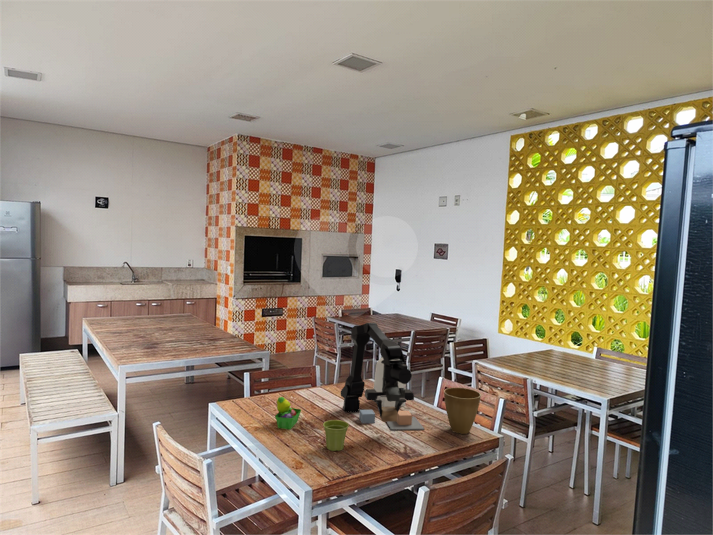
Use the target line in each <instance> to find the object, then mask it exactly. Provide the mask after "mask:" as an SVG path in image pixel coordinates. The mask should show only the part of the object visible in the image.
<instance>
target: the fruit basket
mask: <svg viewBox="0 0 713 535" xmlns="http://www.w3.org/2000/svg"><path fill="white" fill-rule="evenodd" d="M291 406H292V405H291V403H290V401H288V399H286V398H285V397H283V396H279V397H278V398H277V400H276V410H277V411H278V413H276V415H275V416H274V418H275V420H276V426H277V429H283V430H291V429H292V428H293V427H295V425H296V424H297V423H298V421H299V418H300V414H301V413H302V409H301V408H293V407H291Z"/></svg>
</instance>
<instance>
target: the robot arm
mask: <svg viewBox="0 0 713 535" xmlns="http://www.w3.org/2000/svg"><path fill="white" fill-rule="evenodd" d="M350 333H351V336H350V337H351V341H352V342H353V348H352V349H353V351H352V359H351V367H350V373H349V376H348V377H347V378H346V379H345V383H344V386H343V387H342V389H341V390H340V396H341V398H343V406H342V410H343V411H344V413H360V405H361V404H360V402H361V400H360V398H362V397H363V394H364V397H365V400H367V401H373V400H374V401H373V402H374V403H376V405H377V409H378V414H379V417H380V416H382V400H381V397H387V400H388V401H390V402H391V401H395V407H394V408H395V409H396V410H397V413H398V411H400V409H401V407H402V406H401V405H402V404H403V403H404V402H406V403H407V401H414V400H415V393H413V391H412V390H411V389H409V388H406V389H405V388H399V387H398V382H400V383H402V384H406V385H407V384H408V383H410V381H411V380H412V371H411V370H410V369H409V368H408V365H407V362H406V358H405V355H404V353H403V349H402V347H401V346H400V344H398V343H397V342H394V341H392V340H390V339H389V338H388V336H387V335H386V334H385V333H384V332H383V331H382V330H381V328H379V326H378V324H377V323H376V322H366V323H363V324H359V325H353V327H351V331H350ZM370 339H372V340H373V341H374V342H375V344H376V345H377V347H379V354H380V355H381V358H382V357H383V359H384V360H382V361H381V363H383V364H384V369H383V387H382V392H376V390H375V389H374V388H367V389H366V390H365V386H366V385H365V381H364V380H363V378H362V373H363V366H364V357H365V350H366V346H367V344H368V343H369V342H370ZM398 359H400V360H398ZM391 360H393V361H391ZM403 364H404V365H403ZM405 399H406V400H405Z"/></svg>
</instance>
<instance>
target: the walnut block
mask: <svg viewBox="0 0 713 535" xmlns="http://www.w3.org/2000/svg"><path fill="white" fill-rule="evenodd" d="M379 418H380V419H381V421H382V422H393V421H397V410H396V409H395V407H382V416H380V415H379Z"/></svg>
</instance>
